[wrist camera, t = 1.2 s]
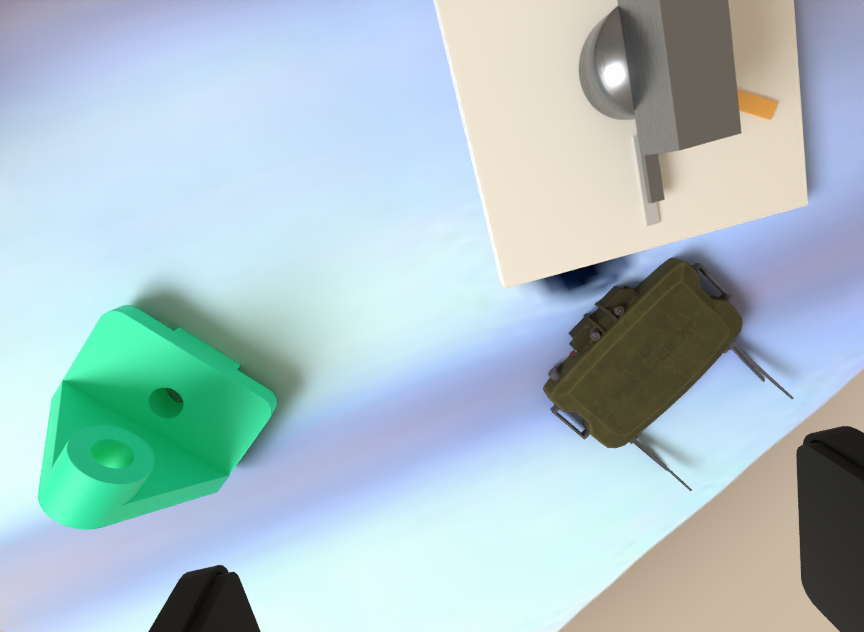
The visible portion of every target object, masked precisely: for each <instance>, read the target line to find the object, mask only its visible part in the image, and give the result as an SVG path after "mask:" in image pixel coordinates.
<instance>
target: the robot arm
mask: <svg viewBox="0 0 864 632" xmlns="http://www.w3.org/2000/svg"><path fill="white" fill-rule="evenodd" d="M797 480H798V481H797V482H798V508H799V531H800V533H799V534H800V558H801V559H800V560H801V580H802V584H803V587H804V589H805V592H806V594H807V596H808V597H809V599H810V600H811V602H812V603H813V604H814V605H815V606H816V607H817V608H818V609H819V611H821V613H822V614H823V615H824V616H825V617H826V618H827V619H828V620H829V621H830V622H831V623H832V624H833V625H834V626H835V627H836V628H837V629H838V630H839V631H840V632H864V433H863V432H861V431H859V430H857V429H855V428H852V427H849V426H842V427H838V428H833V429H828V430H824V431H819V432H815V433H811V434H809V435H807V436H806V437H805V439H804V442H803V445H801V446H800V447H798V449H797ZM149 632H260V629H259V627H258V624H257V622H256V619H255V616H254V614H253V611H252V609H251V606H250V604H249V601H248V599H247V596H246V594H245V591H244V588H243V586H242V583H241V581H240V578H239V576H238V575H237V574H236V573H235V572H228V570H227V568H225V567H224V566H223V565H217V566H213V567H208V568H204V569H199V570H195V571H190V572H187V573H185V574H183V576H182V577H181V578H180V579H179V581H178V583H177V584H176V586H175V588H174V589H173V591H172V593H171V594H170V596H169V598H168V600H167V601H166V603H165V605H164V606H163V608H162V610H161V611H160V613H159V615H158V616H157V618H156V620H155V622H154V623H153V625H152V627H151V628H150V630H149Z"/></svg>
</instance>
